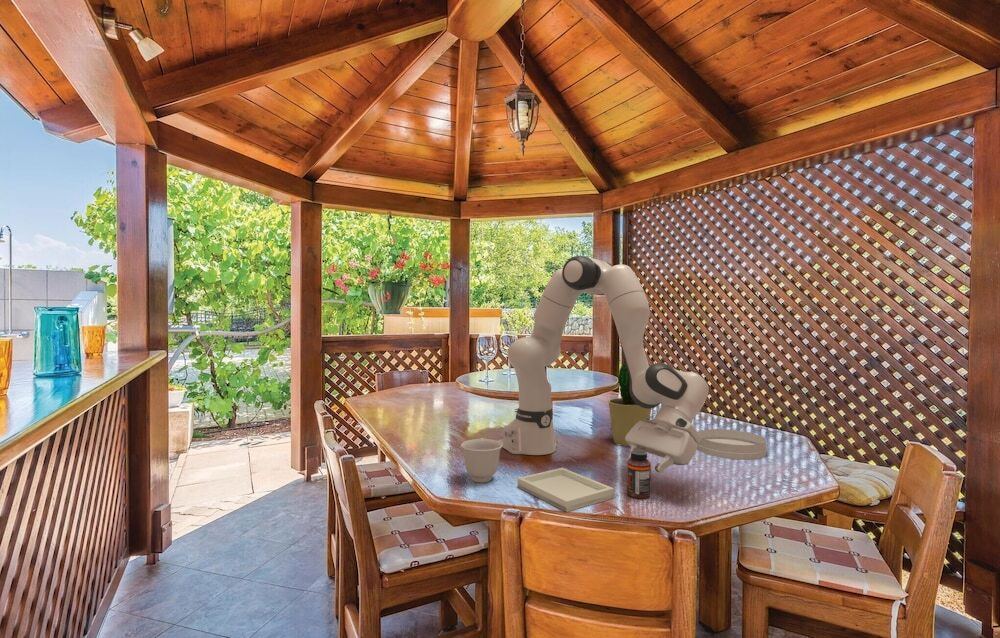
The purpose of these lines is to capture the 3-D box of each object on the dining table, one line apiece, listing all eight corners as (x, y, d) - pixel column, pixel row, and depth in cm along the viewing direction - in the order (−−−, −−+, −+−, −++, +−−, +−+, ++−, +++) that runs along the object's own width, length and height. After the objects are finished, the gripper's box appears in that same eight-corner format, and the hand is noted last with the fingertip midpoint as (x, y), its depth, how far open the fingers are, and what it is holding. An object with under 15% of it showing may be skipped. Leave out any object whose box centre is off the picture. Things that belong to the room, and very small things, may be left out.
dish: (683, 450, 175) (683, 435, 174) (713, 439, 189) (713, 426, 189) (750, 465, 158) (750, 449, 158) (777, 451, 173) (777, 437, 173)
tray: (517, 487, 137) (517, 477, 137) (562, 476, 146) (562, 467, 146) (566, 511, 121) (566, 501, 121) (613, 498, 129) (613, 488, 129)
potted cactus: (631, 450, 173) (632, 362, 172) (599, 440, 186) (599, 359, 185) (661, 443, 181) (662, 360, 181) (628, 434, 194) (629, 356, 194)
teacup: (502, 469, 153) (502, 436, 152) (503, 486, 138) (503, 450, 137) (462, 469, 152) (462, 436, 152) (459, 486, 137) (459, 450, 137)
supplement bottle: (623, 491, 134) (623, 448, 134) (645, 490, 135) (645, 448, 135) (631, 499, 128) (631, 455, 128) (654, 499, 129) (654, 454, 129)
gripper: (636, 410, 145) (610, 449, 140) (695, 424, 127) (668, 469, 123) (647, 424, 147) (622, 462, 143) (707, 440, 129) (680, 484, 125)
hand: (644, 466), depth 132 cm, fingers open, 8 cm apart
